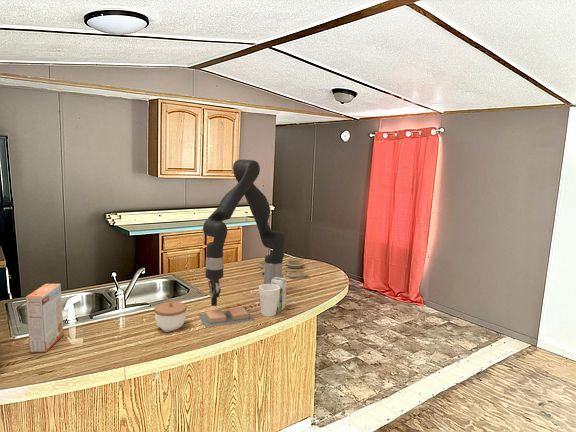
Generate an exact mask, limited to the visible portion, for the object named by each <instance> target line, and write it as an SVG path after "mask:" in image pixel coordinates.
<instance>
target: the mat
mask: <svg viewBox="0 0 576 432" xmlns="http://www.w3.org/2000/svg"><path fill="white" fill-rule="evenodd" d="M244 309H245V310H246V311H247V312H248V314H249V318H248V319H243V320H236V321H233V320H232V319H231V317H230V316H229V315H228V310H222V311H223V313H224V314H225V316H226V322H221V323H214V324H210V323H209V321H208V320H207V318H206V313H200V314H199V313H198V314H197V315H198V317H199V319H200V322H202V324H203V327H204V328H212V327H218V326H224V325H231V324H238V323H247V322H253V321H256V319H255V318H254V317H253V315H252V314H251V313H250V312H249V311H248V310H247V308H244Z"/></svg>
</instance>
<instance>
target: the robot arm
mask: <svg viewBox="0 0 576 432" xmlns="http://www.w3.org/2000/svg"><path fill="white" fill-rule="evenodd" d="M232 171H233V176H234V178H235V180H236V181H237V184H236V185H234V187H233V188H232V189H230V190H229V191H228V192H227V193H226V194H225V195H224V196H222V198H221V200H220V202H219V204H218V206H217V207H216V209H215V210H214V211H213V212H212V213H211V215H210V216H208V218H207V219H206V220H205V222H204V223H203V226H202V232H203V234H204V235H205V236H207V237H210V238H213V241H211V242H208V243H207V245H206V252H205V253H206V257H205V278H206V279H207V280H208V281H207V283H208V292H209V295H210V305H211V307H217V306H218V298H220V294H221V290H222V289H221V288H220V287H221V286H220V285H221V283H220V279H223V277H224V246H225V243H226V239H227V236H228V226H227V225H226V223H225V222H224V221H228V220H229V219H231V218H232V216H233V214H234V213H235V210H236V208H237V206H238V204H239V203H240V202H241V200H242V198H243V197H245V199H246V202H247V204H248V207H249V210H250V212H251V214H252V217H253V219H254V221H255V224H256V227H257V229H258V234H259V237H260V240H261V241H260V242H261V243H262V245H263V246H264V248H268V249H271V250H272V253H271V254H267V255H265V257H264V262H265V268H264V273H263V284H271V280H272V279H273V278H275V277H278V278H284V276H283V260H284V256H285V249H286V248H285V247H286V237H285V234H284V232H281V231H279V230H278V231H277V230H273V229H271V226H270V224H269V219H270V216H271V206H270V204H269V201H268V199H267V196H265V194H264V193H263V192H262V191H261V190H260V189H259V188H258V186H256V185H255V184H254V183H255V181H256V180H257V178H258V177H259V176H260V172H261V167H260V164H259V162H258V161H257V160H253V159H237V160H235V161H234V162H233V164H232Z"/></svg>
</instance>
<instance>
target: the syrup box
mask: <svg viewBox="0 0 576 432" xmlns="http://www.w3.org/2000/svg"><path fill="white" fill-rule="evenodd" d="M271 284H274V285H278V286H279V287H280V293H279V298H278V304H277V310H278V311H279V312H282V311H283V310H284V309H285V308H286V296H287V295H286V293H287V278H284V277H283V278H278V277H275V278H273V279H272V280H271ZM277 310H276V311H277Z"/></svg>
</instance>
